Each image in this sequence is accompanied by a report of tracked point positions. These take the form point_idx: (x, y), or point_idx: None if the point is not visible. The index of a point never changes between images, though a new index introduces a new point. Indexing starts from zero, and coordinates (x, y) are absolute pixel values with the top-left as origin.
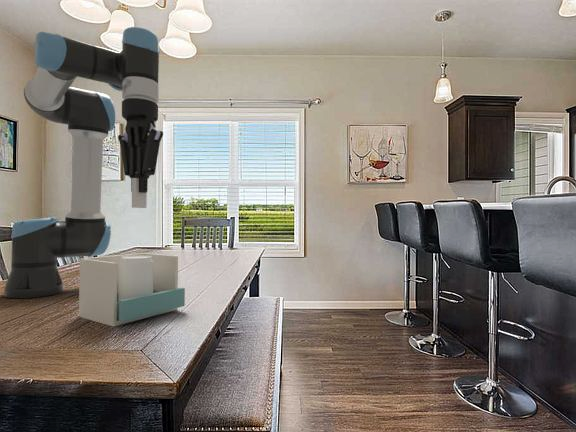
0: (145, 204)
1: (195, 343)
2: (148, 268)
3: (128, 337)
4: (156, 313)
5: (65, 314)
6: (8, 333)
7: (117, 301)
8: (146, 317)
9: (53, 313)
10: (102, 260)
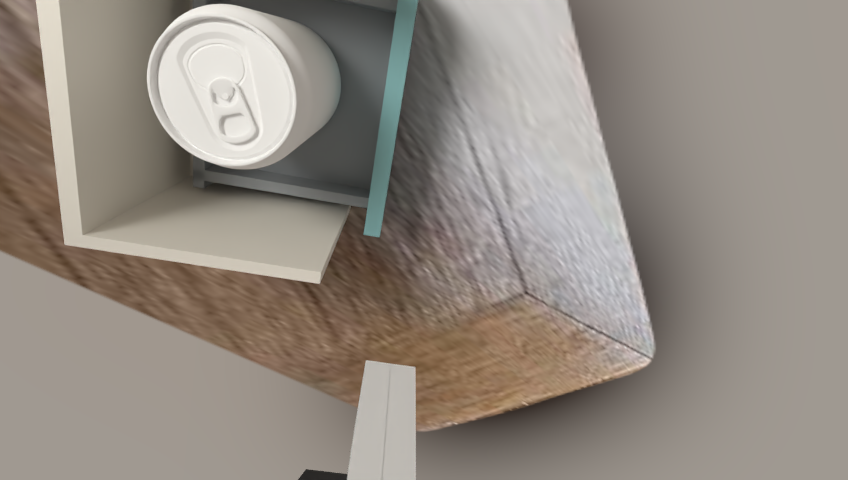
0: (414, 391)
1: (611, 223)
2: (317, 94)
3: (447, 250)
4: None
5: None
6: (192, 329)
7: None
8: None
9: None
10: (84, 152)
